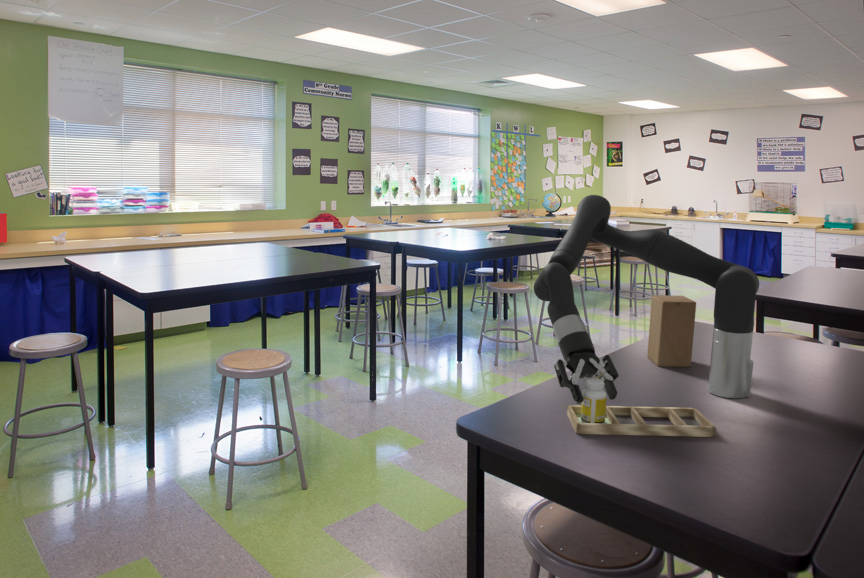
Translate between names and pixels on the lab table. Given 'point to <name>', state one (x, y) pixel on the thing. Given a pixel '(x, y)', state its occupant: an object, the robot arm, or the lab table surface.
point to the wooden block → (671, 331)
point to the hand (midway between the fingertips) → (597, 400)
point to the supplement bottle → (593, 402)
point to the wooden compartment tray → (631, 423)
